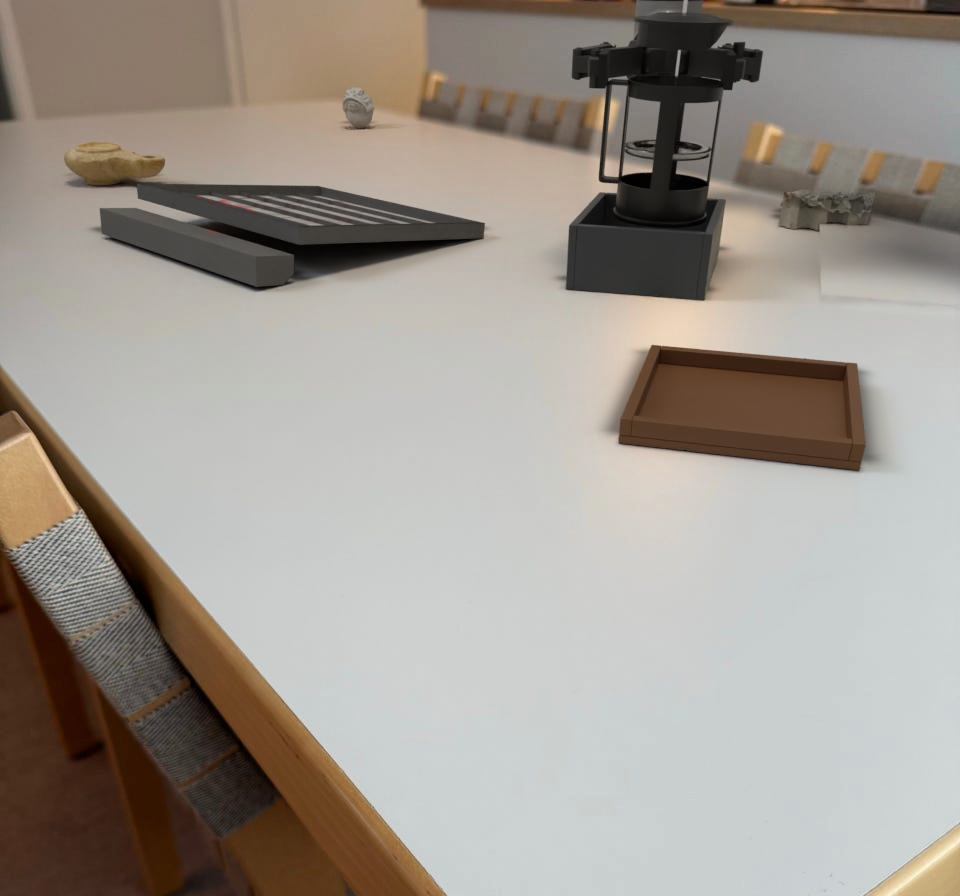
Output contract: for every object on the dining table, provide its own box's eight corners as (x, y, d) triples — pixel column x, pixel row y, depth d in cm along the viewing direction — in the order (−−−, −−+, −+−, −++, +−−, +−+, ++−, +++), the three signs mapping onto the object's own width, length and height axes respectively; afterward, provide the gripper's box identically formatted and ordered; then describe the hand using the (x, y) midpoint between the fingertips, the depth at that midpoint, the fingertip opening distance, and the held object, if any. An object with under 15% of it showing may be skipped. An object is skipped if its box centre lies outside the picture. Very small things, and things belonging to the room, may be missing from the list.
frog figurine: (337, 130, 184) (334, 88, 180) (353, 125, 189) (350, 84, 185) (366, 131, 182) (364, 89, 178) (381, 126, 188) (379, 85, 184)
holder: (717, 258, 105) (726, 199, 102) (704, 300, 92) (712, 234, 89) (595, 249, 108) (599, 192, 105) (565, 289, 95) (568, 225, 92)
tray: (852, 385, 74) (857, 362, 73) (859, 470, 61) (866, 444, 60) (649, 366, 77) (651, 344, 76) (618, 443, 65) (620, 418, 64)
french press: (715, 211, 99) (757, -64, 86) (710, 232, 92) (756, -65, 78) (602, 202, 101) (627, -67, 88) (589, 222, 94) (613, -68, 80)
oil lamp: (169, 187, 137) (162, 149, 134) (63, 192, 135) (54, 152, 132) (170, 174, 146) (164, 137, 143) (71, 178, 143) (63, 141, 140)
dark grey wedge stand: (318, 241, 133) (103, 248, 113) (317, 185, 130) (95, 182, 110) (482, 272, 114) (259, 287, 94) (485, 208, 111) (255, 209, 91)
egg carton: (773, 228, 117) (779, 191, 115) (784, 216, 123) (790, 181, 120) (864, 236, 113) (872, 198, 111) (871, 223, 119) (879, 187, 116)
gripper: (768, 94, 105) (790, 121, 87) (557, 91, 108) (536, 117, 90) (781, 12, 100) (806, 23, 82) (560, 12, 103) (538, 22, 85)
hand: (665, 72), depth 86 cm, fingers closed on french press, 11 cm apart
